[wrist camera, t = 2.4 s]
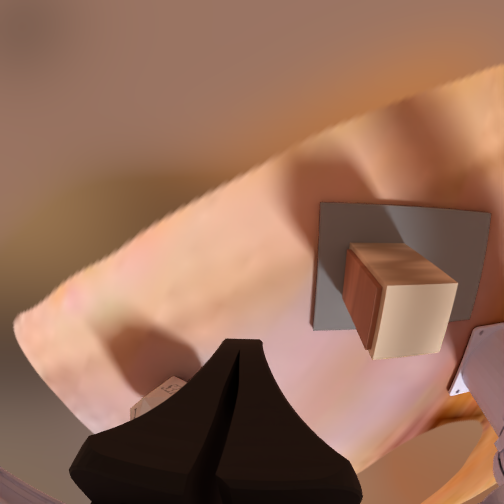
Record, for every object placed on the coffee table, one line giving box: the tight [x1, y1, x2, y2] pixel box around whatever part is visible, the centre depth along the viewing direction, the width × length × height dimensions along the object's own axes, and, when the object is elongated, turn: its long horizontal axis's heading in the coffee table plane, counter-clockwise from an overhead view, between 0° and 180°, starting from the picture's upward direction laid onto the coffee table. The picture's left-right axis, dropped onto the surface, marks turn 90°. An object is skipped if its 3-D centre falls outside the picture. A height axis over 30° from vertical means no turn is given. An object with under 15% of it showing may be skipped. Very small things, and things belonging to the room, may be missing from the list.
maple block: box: [342, 243, 458, 360], centre depth 16 cm, size 4×4×7 cm
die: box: [130, 376, 187, 421], centre depth 21 cm, size 8×9×10 cm
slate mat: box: [313, 202, 491, 331], centre depth 19 cm, size 14×9×1 cm, turn 91°
